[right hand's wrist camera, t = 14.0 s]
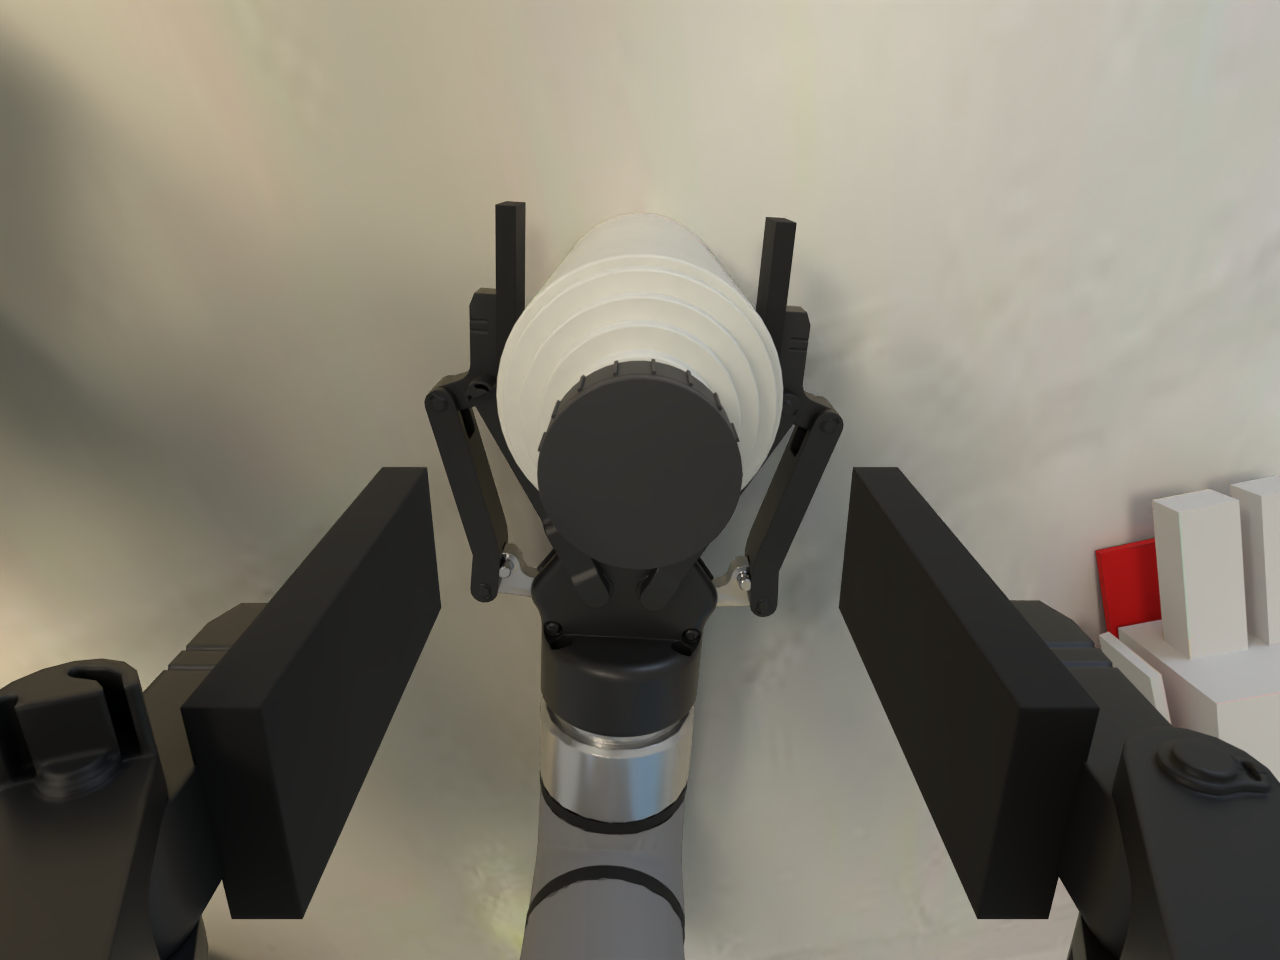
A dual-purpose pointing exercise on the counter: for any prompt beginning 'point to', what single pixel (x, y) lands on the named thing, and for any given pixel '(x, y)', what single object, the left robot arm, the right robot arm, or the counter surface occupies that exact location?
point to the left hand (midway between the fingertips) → (646, 211)
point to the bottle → (639, 333)
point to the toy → (1203, 614)
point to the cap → (639, 465)
